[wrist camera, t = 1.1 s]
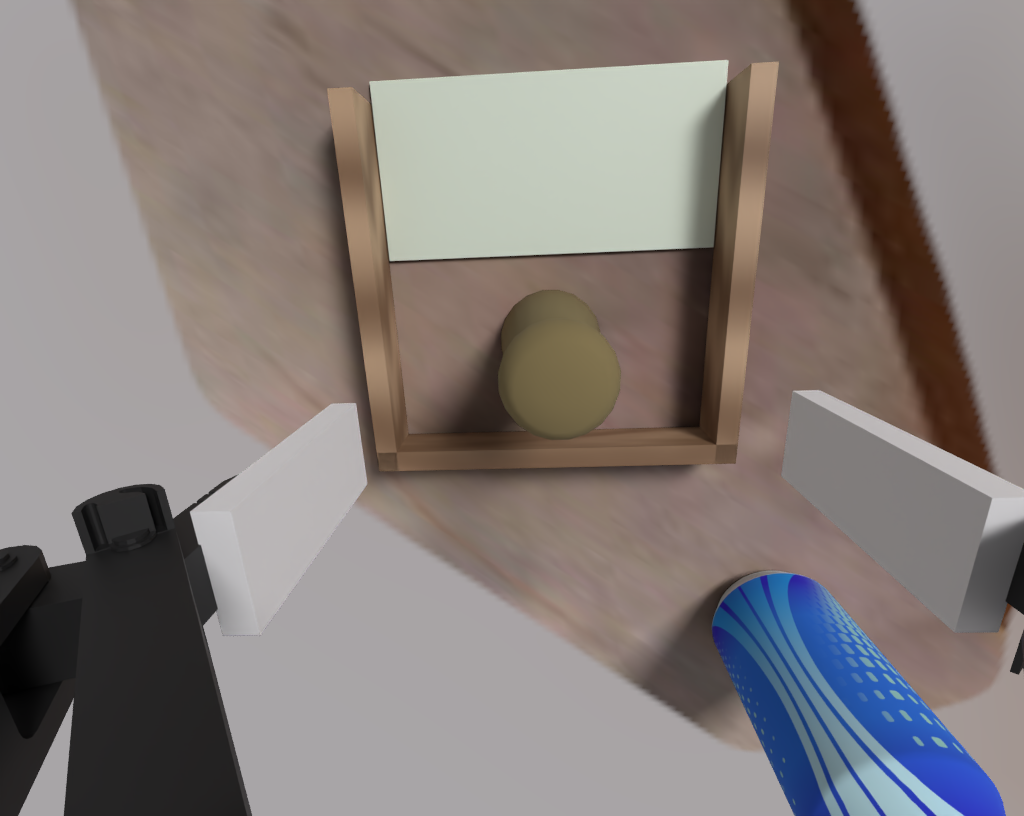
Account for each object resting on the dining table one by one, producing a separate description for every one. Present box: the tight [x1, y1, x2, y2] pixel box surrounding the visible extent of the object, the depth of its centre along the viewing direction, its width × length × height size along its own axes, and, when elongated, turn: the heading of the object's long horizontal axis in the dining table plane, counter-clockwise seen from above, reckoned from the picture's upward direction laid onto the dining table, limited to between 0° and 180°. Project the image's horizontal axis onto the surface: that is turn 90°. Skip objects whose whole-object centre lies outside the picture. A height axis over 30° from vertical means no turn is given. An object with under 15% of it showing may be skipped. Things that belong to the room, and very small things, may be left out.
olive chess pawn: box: [498, 290, 621, 440], centre depth 25 cm, size 6×6×11 cm
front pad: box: [370, 60, 728, 261], centre depth 27 cm, size 9×18×1 cm, turn 92°
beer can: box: [712, 571, 1006, 816], centre depth 28 cm, size 8×8×16 cm
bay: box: [327, 62, 779, 471], centre depth 28 cm, size 20×21×3 cm
